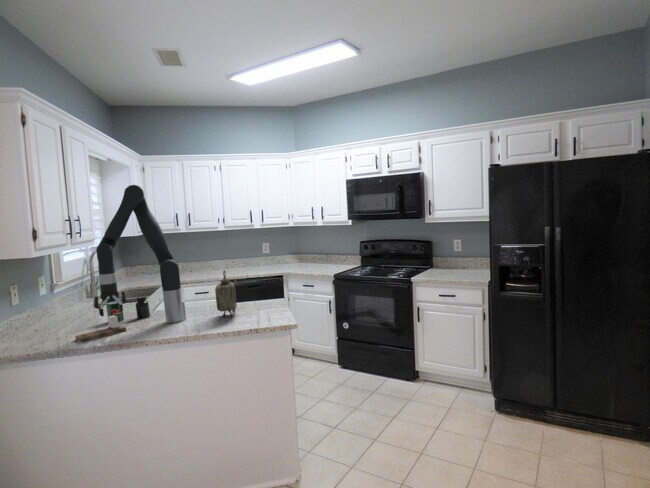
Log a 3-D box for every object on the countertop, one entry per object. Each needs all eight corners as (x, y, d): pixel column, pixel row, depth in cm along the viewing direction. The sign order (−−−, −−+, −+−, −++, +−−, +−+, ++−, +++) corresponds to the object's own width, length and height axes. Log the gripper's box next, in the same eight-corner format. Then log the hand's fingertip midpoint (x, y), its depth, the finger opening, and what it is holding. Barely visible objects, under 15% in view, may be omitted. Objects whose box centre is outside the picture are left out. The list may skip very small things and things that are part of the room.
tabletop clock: (235, 318, 203) (230, 271, 201) (218, 320, 202) (213, 273, 200) (237, 311, 217) (233, 267, 215) (221, 313, 216) (216, 269, 214)
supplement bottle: (152, 315, 225) (149, 295, 224) (147, 318, 218) (144, 297, 217) (140, 316, 225) (137, 296, 223) (135, 319, 218) (132, 298, 217)
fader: (114, 325, 199) (113, 314, 198) (119, 327, 194) (118, 316, 194) (108, 327, 197) (106, 316, 196) (113, 329, 192) (111, 318, 192)
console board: (119, 328, 202) (119, 324, 201) (126, 330, 196) (125, 326, 195) (75, 339, 187) (75, 335, 187) (81, 343, 181) (81, 338, 181)
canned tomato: (117, 323, 213) (114, 303, 212) (105, 323, 215) (102, 304, 214) (127, 319, 221) (124, 300, 220) (115, 319, 222) (112, 300, 221)
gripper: (120, 279, 201) (123, 309, 203) (89, 284, 191) (93, 316, 192) (125, 280, 196) (129, 311, 198) (94, 285, 186) (98, 318, 187)
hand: (111, 314), depth 195 cm, fingers open, 8 cm apart
